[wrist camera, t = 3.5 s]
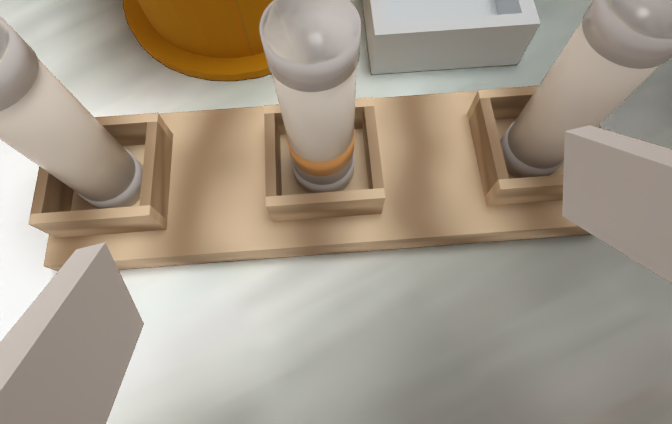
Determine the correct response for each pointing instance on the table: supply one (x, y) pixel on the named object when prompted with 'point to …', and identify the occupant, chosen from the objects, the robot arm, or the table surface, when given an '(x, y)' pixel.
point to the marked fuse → (315, 85)
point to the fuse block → (300, 206)
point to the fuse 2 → (589, 80)
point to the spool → (202, 36)
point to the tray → (447, 33)
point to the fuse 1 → (61, 130)
